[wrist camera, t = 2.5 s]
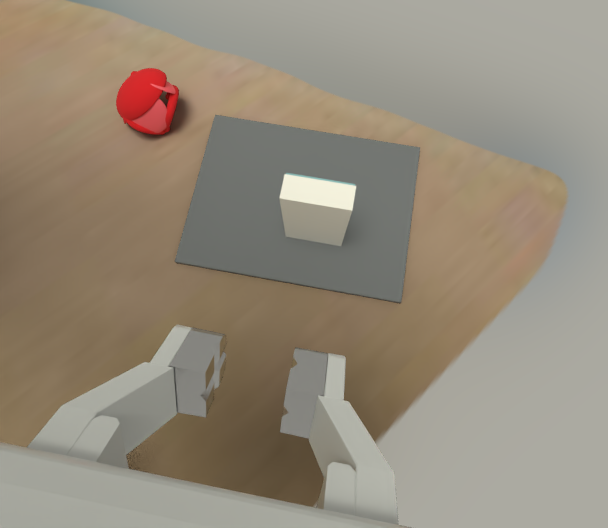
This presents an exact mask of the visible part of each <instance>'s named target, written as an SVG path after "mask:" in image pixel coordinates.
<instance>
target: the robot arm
mask: <svg viewBox="0 0 608 528" xmlns="http://www.w3.org/2000/svg"><path fill="white" fill-rule="evenodd" d="M226 344H227V343H226V335H225V334H221V333H216V332H212V331H207V330H202V329H197V328H191V327H186V326H182V325H176V326H175V327H173V328H172V330H171V331H170V333H169V334H168V336H167V337H166V339H165V340H164V342H163V343H162V345H161V346H160V348H159V349H158V351H157V352H156V354H155V355H154V357H153V358H152V360H151V361H150V363H147V362H144V363H142V364H140V365H138V366H136V367H134V368H132V369H130V370H128V371H127V372H125V373H123V374H121V375H119V376H117V377H115V378H113V379H111V380H109V381H107V382H105V383H104V384H102V385H100V386H98V387H96V388H94V389H92V390H90V391H88V392H86V393H84V394H83V395H81V396H79V397H77V398H75V399H73V400H71V401H69V402H67V403H65V404H63V405H62V406H61V407H60V408H59V409H58V411H57V412H56V413H55V414H54V415H53V417H52V418H51V419H50V420H49V421H48V423H47V424H46V425H45V426H44V427H43V429H42V430H41V431H40V432H39V433H38V435H37V436H36V437H35V438H34V439H33V441H32V442H31V443H30V444H29V445H28V447H22V446H17V445H12V444H8V443H3V442H0V528H411V527H406V526H401V525H398V514H397V500H396V487H395V474H394V471H393V470H392V468H391V467H390V465H389V464H388V462H387V461H386V459H385V457H384V456H383V454H382V453H381V451H380V450H379V448H378V446H377V445H376V443H375V442H374V440H373V439H372V437H371V435H370V434H369V432H368V431H367V429H366V428H365V426H364V425H363V423H362V421H361V420H360V418H359V417H358V415H357V414H356V412H355V410H354V409H353V407H352V406H351V404H350V403H349V402H348V401H344V385H345V364H346V358H345V356H342V355H336V354H330V353H324V352H318V351H313V350H307V349H302V348H295V351H294V355H293V361H292V367H291V369H290V374H289V378H288V383H287V388H286V394H285V400H284V410H283V415H282V421H281V429H280V432H282V433H286V434H291V435H295V436H299V437H304V438H308V439H309V442H310V445H311V447H312V450H313V452H314V454H315V457H316V459H317V462H318V464H319V467H320V469H321V472H322V474H323V477H324V481H323V485H322V489H321V492H320V496H319V499H318V503H317V507H316V508H315V507H310V506H305V505H300V504H295V503H291V502H286V501H281V500H276V499H271V498H267V497H262V496H257V495H252V494H247V493H242V492H238V491H233V490H228V489H223V488H218V487H214V486H209V485H204V484H199V483H194V482H190V481H185V480H180V479H175V478H170V477H166V476H161V475H156V474H151V473H147V472H142V471H137V470H132V469H129V468H128V463H127V458H126V455H127V454H128V453H129V452H131V451H132V450H133V449H134V448H136V447H137V446H138V445H139V444H141V443H142V442H143V441H144V440H145V439H147V438H148V437H149V436H150V435H152V434H153V433H154V432H155V431H157V430H158V429H159V428H160V427H162V426H163V425H164V424H165V423H167V422H168V421H169V420H170V419H172V418H173V417H174V416H175V415H177V412H178V413H184V414H189V415H195V416H201V417H206V416H207V414H208V412H209V409H210V407H211V405H212V402H213V400H214V389H216V388H217V387H219V385H220V383H221V380H222V378H223V374H224V370H225V365H226V354H225V353H224V352H223V351H224V349H225V347H226Z"/></svg>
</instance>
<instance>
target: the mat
mask: <svg viewBox="0 0 608 528" xmlns="http://www.w3.org/2000/svg"><path fill="white" fill-rule="evenodd" d="M419 152H420V147H413V146H407V145H401V144H395V143H388V142H382V141H376V140H370V139H363V138H357V137H351V136H345V135H338V134H332V133H326V132H320V131H313V130H307V129H301V128H295V127H288V126H282V125H276V124H269V123H263V122H257V121H251V120H244V119H238V118H232V117H226V116H219V115H215V117H214V121H213V124H212V128H211V132H210V135H209V139H208V143H207V146H206V150H205V154H204V157H203V161H202V164H201V168H200V172H199V175H198V179H197V183H196V186H195V190H194V193H193V197H192V201H191V204H190V208H189V212H188V215H187V219H186V222H185V226H184V230H183V233H182V237H181V241H180V244H179V248H178V251H177V255H176V259H175V262H176V263H180V264H186V265H191V266H197V267H202V268H208V269H213V270H219V271H224V272H230V273H235V274H241V275H247V276H252V277H258V278H263V279H269V280H274V281H280V282H285V283H291V284H296V285H302V286H308V287H313V288H319V289H324V290H330V291H335V292H341V293H346V294H352V295H357V296H363V297H369V298H374V299H380V300H385V301H391V302H396V303H401V300H402V291H403V283H404V275H405V267H406V259H407V250H408V242H409V234H410V226H411V218H412V210H413V201H414V193H415V185H416V177H417V169H418V161H419ZM286 173H291V174H298V175H304V176H310V177H316V178H322V179H328V180H334V181H340V182H346V183H352V184H355V186H356V191H355V197H354V203H353V210H352V213H351V216H350V220H349V223H348V226H347V229H346V232H345V235H344V239H343V242H342V245H341V246H336V245H330V244H325V243H319V242H313V241H308V240H302V239H296V238H290V237H286V235H285V229H284V223H283V217H282V211H281V205H280V199H279V198H280V193H281V188H282V184H283V179H284V175H285V174H286Z"/></svg>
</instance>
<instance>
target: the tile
mask: <svg viewBox="0 0 608 528" xmlns="http://www.w3.org/2000/svg"><path fill="white" fill-rule="evenodd" d="M355 191H356V186H355V184H352V183H346V182H340V181H334V180H328V179H322V178H316V177H310V176H304V175H298V174H291V173H286V174H285V175H284V179H283V184H282V188H281V193H280V198H279V199H280V205H281V211H282V217H283V223H284V229H285V235H286V237H290V238H296V239H302V240H308V241H313V242H319V243H325V244H330V245H336V246H341V245H342V242H343V239H344V235H345V232H346V229H347V226H348V223H349V220H350V216H351V213H352V210H353V203H354V197H355Z"/></svg>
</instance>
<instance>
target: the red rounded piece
mask: <svg viewBox="0 0 608 528" xmlns="http://www.w3.org/2000/svg"><path fill="white" fill-rule="evenodd" d="M166 80H167V77H166V74H165V73H164V72H162V71H160V70H158V69H154V68H148V69H143V70H140V71H133V72H132V73H131V76H130V77H129V78H127V79H126V81H125V82H124V83H123V84H122V86H121V88H120V89H119V92H118V95H117V100H116V106H117V110H118V113H119V114H120V116H121V117H122V118H123V120H124V123H125V124H126V122H127V123H128V124H129V125H130V126H131V127H132V128H134V129H135V130H137V131H140V132H143V133H147V134H156V135H159V134H161V135H163V134H165V133H166V132H169V131H170V127H169V126H170V124H171V121H172V119H173V116H174V112H175V109H176V105H177V101H178V95H179V90H178V88H177V87H176V86H175V85H171V84H170V83H169V82H167V81H166ZM163 91H166V92H167V94H166V99H167V100H168V104H167V108H166V106H165V104H164V103H163V102H162V101H161V100H160V99H159V97H160V96H161V94H162V92H163Z"/></svg>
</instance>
